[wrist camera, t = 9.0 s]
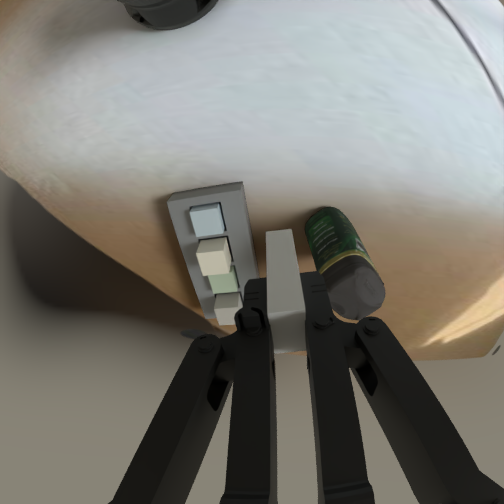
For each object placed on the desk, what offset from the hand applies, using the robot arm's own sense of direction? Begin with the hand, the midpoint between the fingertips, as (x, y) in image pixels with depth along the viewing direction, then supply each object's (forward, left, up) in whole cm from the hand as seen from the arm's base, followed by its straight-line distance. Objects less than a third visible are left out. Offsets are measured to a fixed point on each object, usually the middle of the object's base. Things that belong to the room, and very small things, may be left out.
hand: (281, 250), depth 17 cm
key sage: (+21, -11, -28) cm, 37 cm away
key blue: (+9, -11, -28) cm, 31 cm away
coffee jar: (+16, +9, -30) cm, 35 cm away
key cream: (+15, -11, -26) cm, 32 cm away
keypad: (+18, -11, -29) cm, 36 cm away
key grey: (+27, -11, -26) cm, 39 cm away
